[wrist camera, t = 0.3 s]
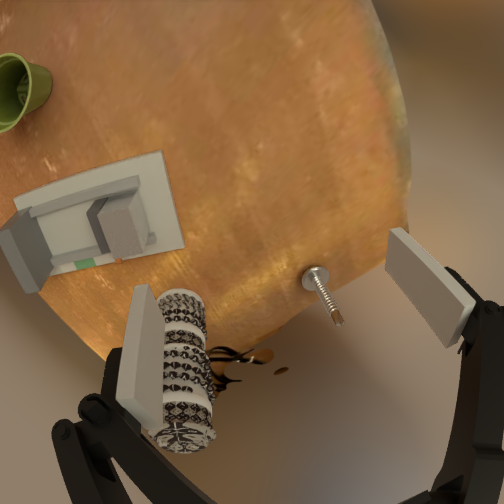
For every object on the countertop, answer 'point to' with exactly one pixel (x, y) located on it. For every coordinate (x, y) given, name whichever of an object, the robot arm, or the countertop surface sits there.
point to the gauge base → (86, 219)
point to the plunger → (124, 224)
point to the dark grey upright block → (99, 226)
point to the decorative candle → (185, 375)
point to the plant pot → (21, 88)
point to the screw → (322, 290)
